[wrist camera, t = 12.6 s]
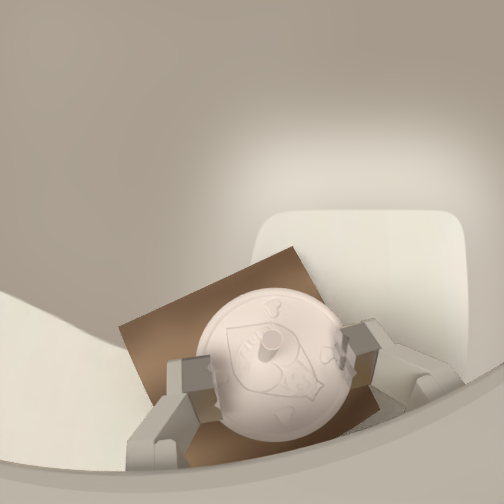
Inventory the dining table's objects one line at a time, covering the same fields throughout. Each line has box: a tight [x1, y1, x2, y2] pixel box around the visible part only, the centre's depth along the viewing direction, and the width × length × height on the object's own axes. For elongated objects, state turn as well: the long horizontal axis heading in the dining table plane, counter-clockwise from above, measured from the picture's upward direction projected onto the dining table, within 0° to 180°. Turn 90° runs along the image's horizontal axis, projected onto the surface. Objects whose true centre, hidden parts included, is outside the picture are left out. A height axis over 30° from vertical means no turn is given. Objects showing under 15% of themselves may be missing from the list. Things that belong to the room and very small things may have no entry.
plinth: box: [119, 246, 380, 468], centre depth 23 cm, size 14×14×4 cm
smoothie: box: [196, 288, 350, 442], centre depth 14 cm, size 6×6×14 cm
